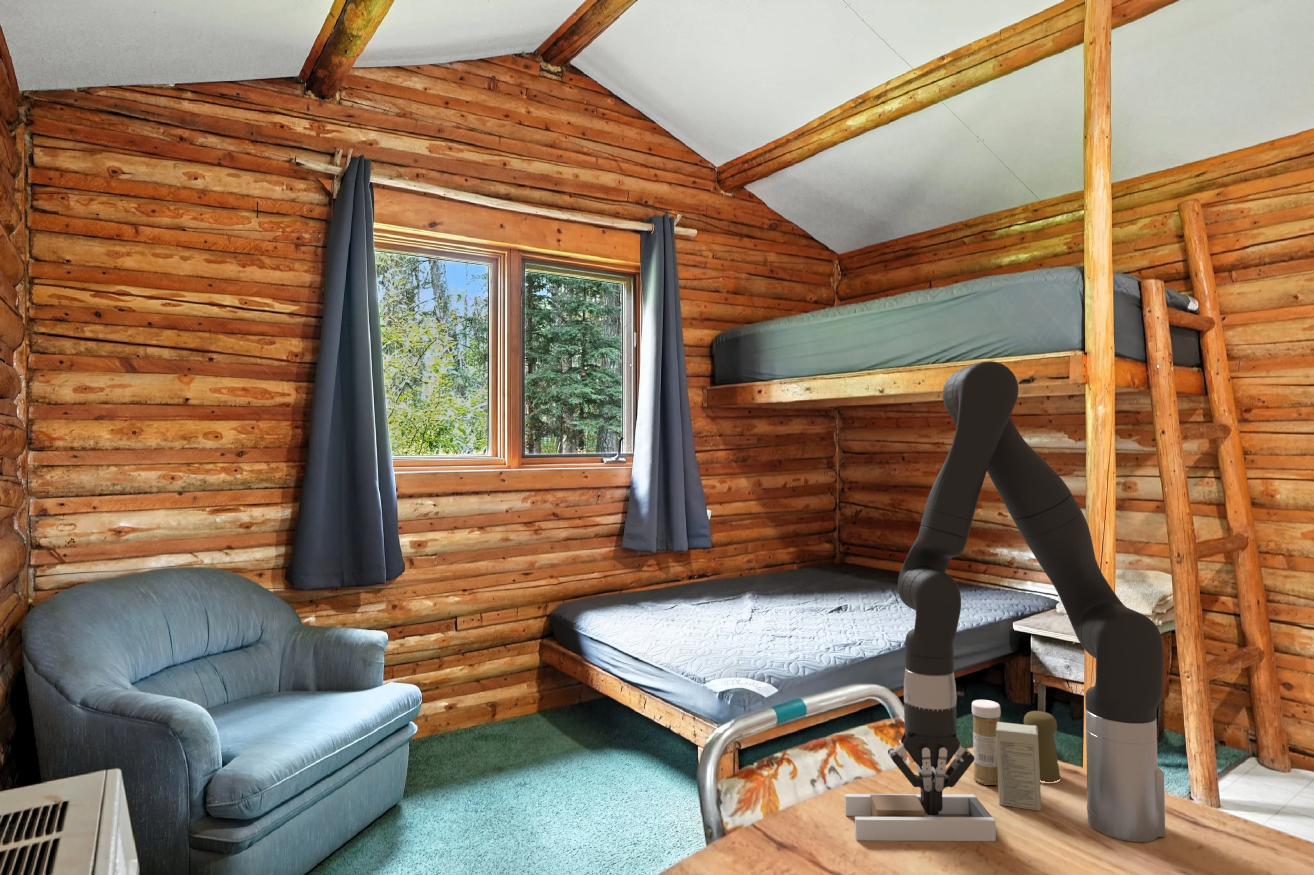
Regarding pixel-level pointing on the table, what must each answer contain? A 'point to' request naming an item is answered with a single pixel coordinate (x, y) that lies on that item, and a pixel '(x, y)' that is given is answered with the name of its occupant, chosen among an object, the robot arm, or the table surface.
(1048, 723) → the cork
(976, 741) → the sprinkles bottle
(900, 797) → the walnut block
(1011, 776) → the skincare box
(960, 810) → the trap channel
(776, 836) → the table surface
